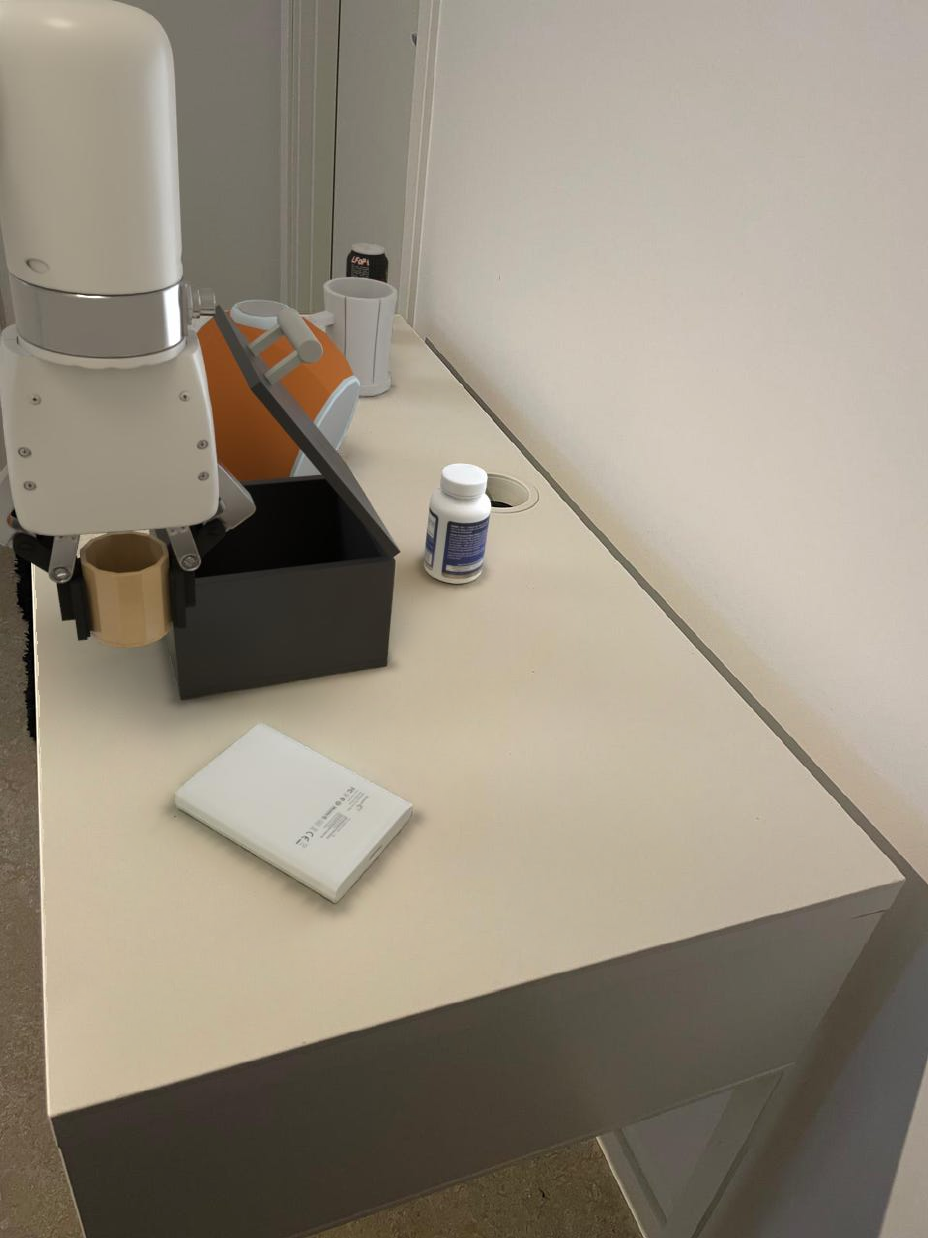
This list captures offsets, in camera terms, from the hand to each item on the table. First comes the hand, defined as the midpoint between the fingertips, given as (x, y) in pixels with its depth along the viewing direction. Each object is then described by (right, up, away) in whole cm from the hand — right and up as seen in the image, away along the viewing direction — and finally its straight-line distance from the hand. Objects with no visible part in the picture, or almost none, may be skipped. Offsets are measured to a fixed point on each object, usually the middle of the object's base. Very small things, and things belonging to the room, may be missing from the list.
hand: (130, 618), depth 53 cm
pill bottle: (+19, +4, +30) cm, 35 cm away
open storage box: (+4, -1, +19) cm, 20 cm away
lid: (+8, +13, +11) cm, 18 cm away
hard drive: (+9, -13, +5) cm, 16 cm away
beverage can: (+5, +41, +77) cm, 87 cm away
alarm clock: (-1, +14, +39) cm, 42 cm away
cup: (+6, +29, +61) cm, 68 cm away
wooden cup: (0, 0, 0) cm, 0 cm away
